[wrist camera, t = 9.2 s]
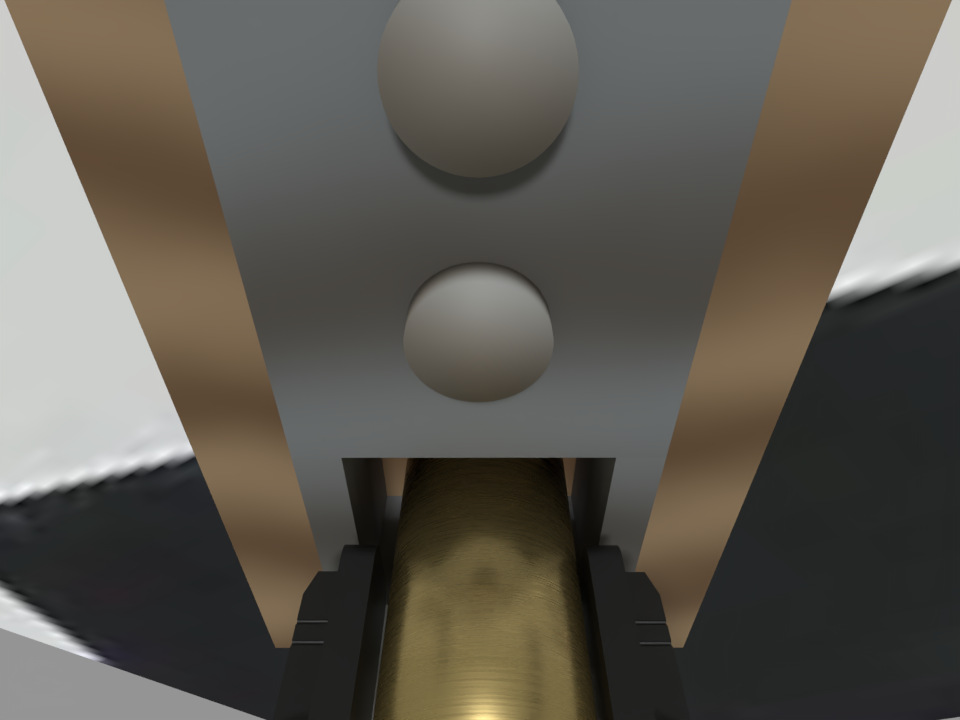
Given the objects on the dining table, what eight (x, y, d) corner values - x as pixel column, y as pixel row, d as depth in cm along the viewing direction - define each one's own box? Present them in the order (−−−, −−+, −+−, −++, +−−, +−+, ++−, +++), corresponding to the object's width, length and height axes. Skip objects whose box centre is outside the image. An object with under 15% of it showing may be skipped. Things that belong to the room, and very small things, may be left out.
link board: (-4, -135, 10) (-328, -133, 6) (959, -134, 10) (1282, -134, 6) (282, 618, 25) (244, 766, 21) (675, 618, 25) (714, 766, 21)
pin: (382, 397, 14) (266, 1000, 7) (588, 397, 14) (705, 1003, 7) (399, 524, 17) (331, 1041, 10) (570, 524, 17) (636, 1044, 10)
